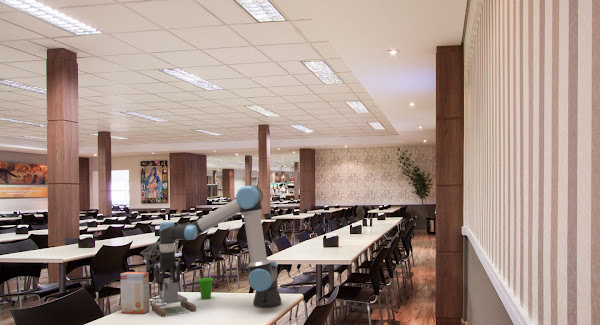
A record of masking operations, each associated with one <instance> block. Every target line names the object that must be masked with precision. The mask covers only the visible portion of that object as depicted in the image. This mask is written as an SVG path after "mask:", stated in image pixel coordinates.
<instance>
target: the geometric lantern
mask: <svg viewBox="0 0 600 325" xmlns="http://www.w3.org/2000/svg"><path fill="white" fill-rule="evenodd" d="M157 247H158V249H157ZM176 251H177V250H176V249H175V250H174V252H176ZM155 252H156V253H155ZM160 253H161V251H160V241H155V243H152V244H151V245H150V246H148V247H147V248H146V249H144V250H141V252H139V254H140V255H142V256H143V257H144V258H145V260H146V261H145V262H146V263H145V272H148V268H149V267H152V266H153V292H152V293H151V294H149V306H152V305H153V304H156V303H159V300H160V302H161V304H156V305H157V306H159V307H163V306H166V305H168V303H167V302H165V301H163V300H161V299H159V284H157V292H156V291H155V290H156V288H155V284H156V269H155V264H156V265H157V264H159V262H160V259H159V260H158V261H157V260H156V258H157V257H159V256H160ZM155 255H156V256H155ZM151 257H152V258H151ZM150 261H152V262H153V263H152V264H149V263H150ZM161 268H162V267H161V265H160V268H159V280H160V277H161ZM169 272H170V280H173V278H172V275H171V271H170V270H169ZM155 292H156V293H155ZM156 295H157V297H156ZM151 296H154V297H151Z"/></svg>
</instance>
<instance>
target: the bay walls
mask: <svg viewBox="0 0 600 325" xmlns="http://www.w3.org/2000/svg"><path fill="white" fill-rule="evenodd" d="M157 305H158V304H156V303H154V304H153V303H152V305H151V312H154V313H155V314H157V315H158V316H160V317H162V318H163V317H166V316H167V315H166V310H164V309H163V308H164V307H162V306H157ZM180 306H181V307H183V308H185V309H187V310H189V311H190V312H192V313H193V312H197V306H196V305H195V304H194V303H192V302H189V301H188V300H187V301H183V302H180Z"/></svg>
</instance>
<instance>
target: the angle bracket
mask: <svg viewBox="0 0 600 325" xmlns="http://www.w3.org/2000/svg"><path fill="white" fill-rule="evenodd" d="M159 281H160V280H159ZM163 284H164V294H165V297H162V292H161V291H160V285H159V296H158V298H159V299H158V300H160V301H161V300H162V302H163V301H164V303H165V302H167V303H168V304H175V303H181V302H183V301H188V298H187V297H186V296H183V295H181V294H179V283H178V282H175V281H173V280H171V278H164V281H163ZM167 303H166V304H167ZM168 304H167V305H168Z"/></svg>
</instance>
